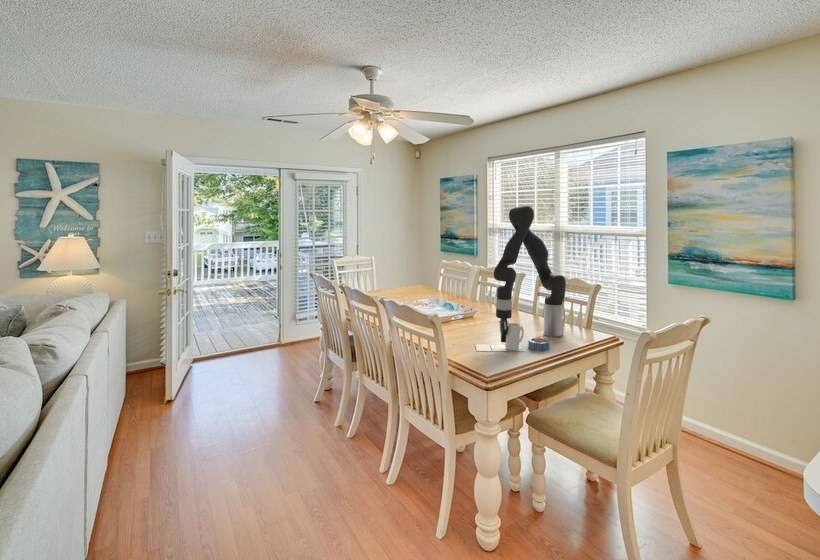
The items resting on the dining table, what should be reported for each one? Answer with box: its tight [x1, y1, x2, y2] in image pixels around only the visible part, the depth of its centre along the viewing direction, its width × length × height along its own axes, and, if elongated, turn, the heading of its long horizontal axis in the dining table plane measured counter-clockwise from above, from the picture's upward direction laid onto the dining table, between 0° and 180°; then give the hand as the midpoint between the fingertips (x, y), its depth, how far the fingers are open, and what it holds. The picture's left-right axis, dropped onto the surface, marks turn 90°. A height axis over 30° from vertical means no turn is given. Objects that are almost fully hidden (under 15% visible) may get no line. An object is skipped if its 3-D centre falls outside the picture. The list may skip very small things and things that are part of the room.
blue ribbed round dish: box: [527, 336, 550, 352], centre depth 208 cm, size 10×10×4 cm
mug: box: [505, 322, 525, 350], centre depth 207 cm, size 10×7×12 cm, turn 116°
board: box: [474, 343, 525, 353], centre depth 210 cm, size 22×11×1 cm, turn 85°
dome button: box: [533, 336, 545, 343], centre depth 208 cm, size 6×6×5 cm
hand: (503, 342), depth 209 cm, fingers closed
